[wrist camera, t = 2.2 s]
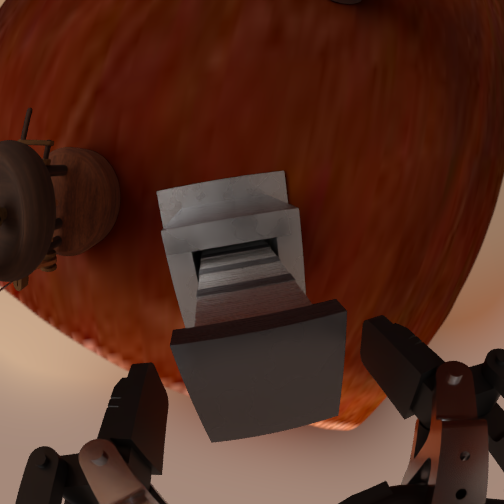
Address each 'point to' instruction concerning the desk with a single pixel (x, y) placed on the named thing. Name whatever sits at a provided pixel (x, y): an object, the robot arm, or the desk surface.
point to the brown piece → (51, 205)
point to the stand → (227, 227)
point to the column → (259, 347)
